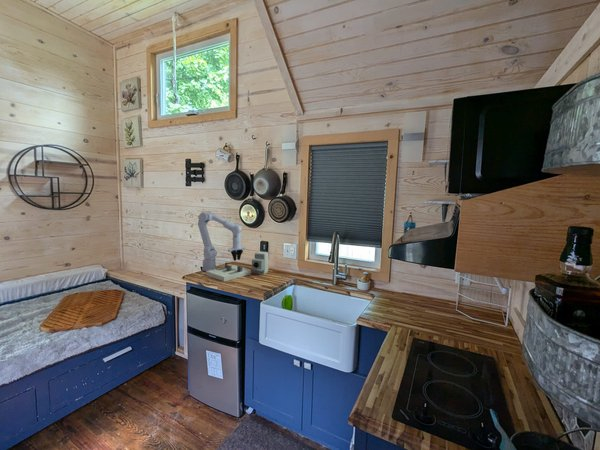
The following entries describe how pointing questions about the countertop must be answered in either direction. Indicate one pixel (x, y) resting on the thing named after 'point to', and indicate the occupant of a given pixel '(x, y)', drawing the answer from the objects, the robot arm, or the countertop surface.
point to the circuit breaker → (260, 262)
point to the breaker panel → (228, 272)
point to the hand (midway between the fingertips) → (236, 260)
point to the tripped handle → (229, 267)
